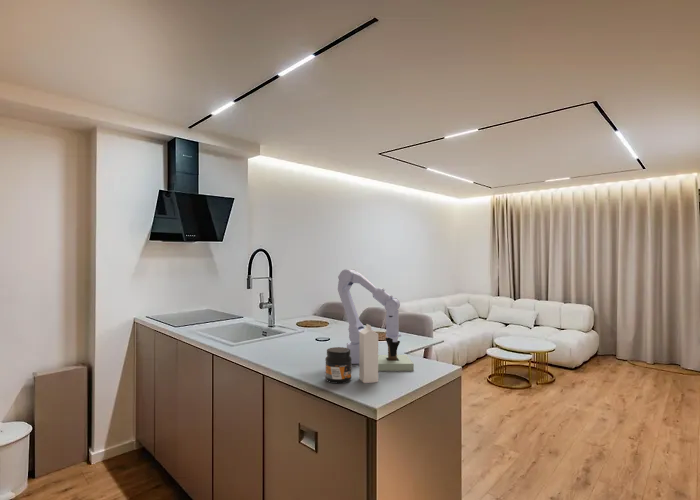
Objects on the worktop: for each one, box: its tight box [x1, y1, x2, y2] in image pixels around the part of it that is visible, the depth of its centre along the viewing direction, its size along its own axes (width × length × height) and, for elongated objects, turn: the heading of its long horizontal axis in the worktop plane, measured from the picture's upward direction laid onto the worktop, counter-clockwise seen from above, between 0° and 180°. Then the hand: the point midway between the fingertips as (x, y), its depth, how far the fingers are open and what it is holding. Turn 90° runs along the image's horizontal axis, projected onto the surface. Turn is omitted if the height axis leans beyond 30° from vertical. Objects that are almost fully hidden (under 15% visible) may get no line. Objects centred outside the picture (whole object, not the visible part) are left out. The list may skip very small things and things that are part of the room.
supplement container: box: [324, 346, 352, 384], centre depth 148 cm, size 10×10×12 cm
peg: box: [387, 344, 398, 361], centre depth 169 cm, size 4×4×10 cm
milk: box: [358, 323, 379, 384], centre depth 148 cm, size 6×6×22 cm
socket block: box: [378, 354, 414, 372], centre depth 169 cm, size 16×16×3 cm
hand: (392, 354), depth 169 cm, fingers closed on peg, 4 cm apart
